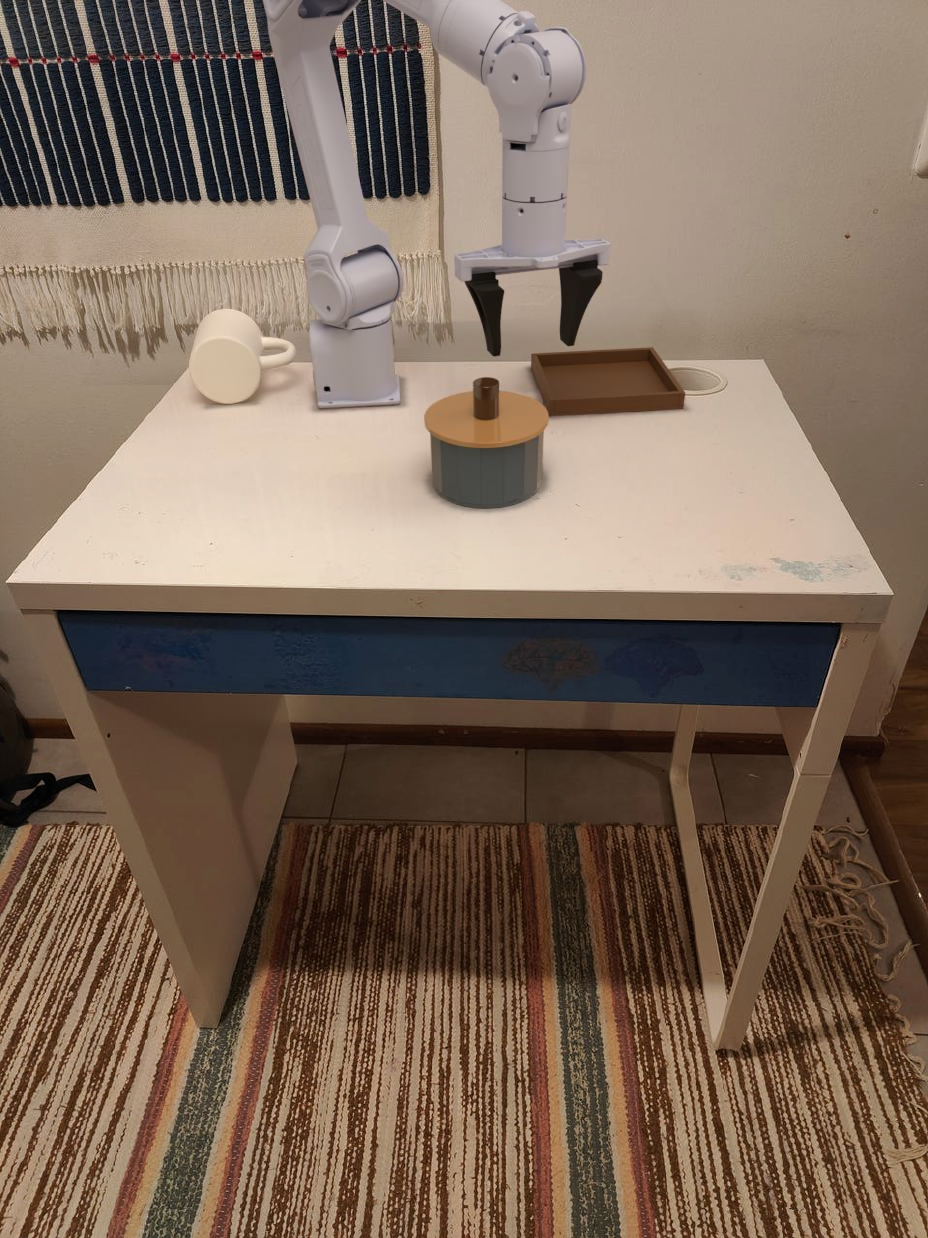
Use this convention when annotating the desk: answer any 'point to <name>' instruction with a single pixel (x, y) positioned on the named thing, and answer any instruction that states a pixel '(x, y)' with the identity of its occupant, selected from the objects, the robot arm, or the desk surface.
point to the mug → (233, 356)
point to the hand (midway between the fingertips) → (530, 347)
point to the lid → (486, 417)
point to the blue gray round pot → (487, 472)
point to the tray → (605, 381)
